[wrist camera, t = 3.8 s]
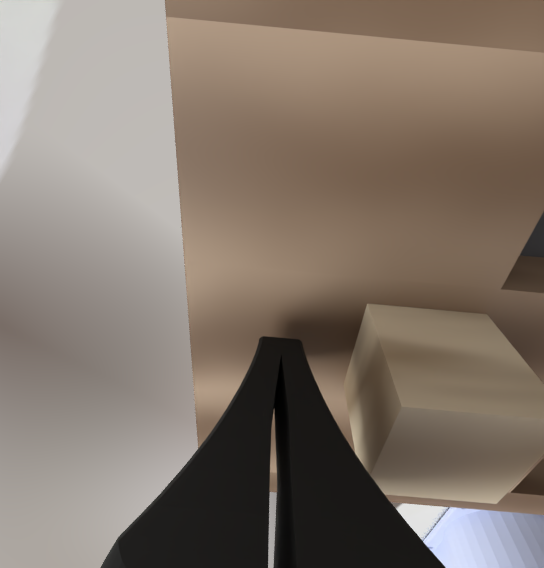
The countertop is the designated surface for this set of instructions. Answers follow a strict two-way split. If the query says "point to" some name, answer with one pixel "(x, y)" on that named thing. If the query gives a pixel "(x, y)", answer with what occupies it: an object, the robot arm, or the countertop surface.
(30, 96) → the countertop surface
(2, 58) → the countertop surface
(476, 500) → the beech cube
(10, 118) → the countertop surface
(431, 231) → the trap deck
